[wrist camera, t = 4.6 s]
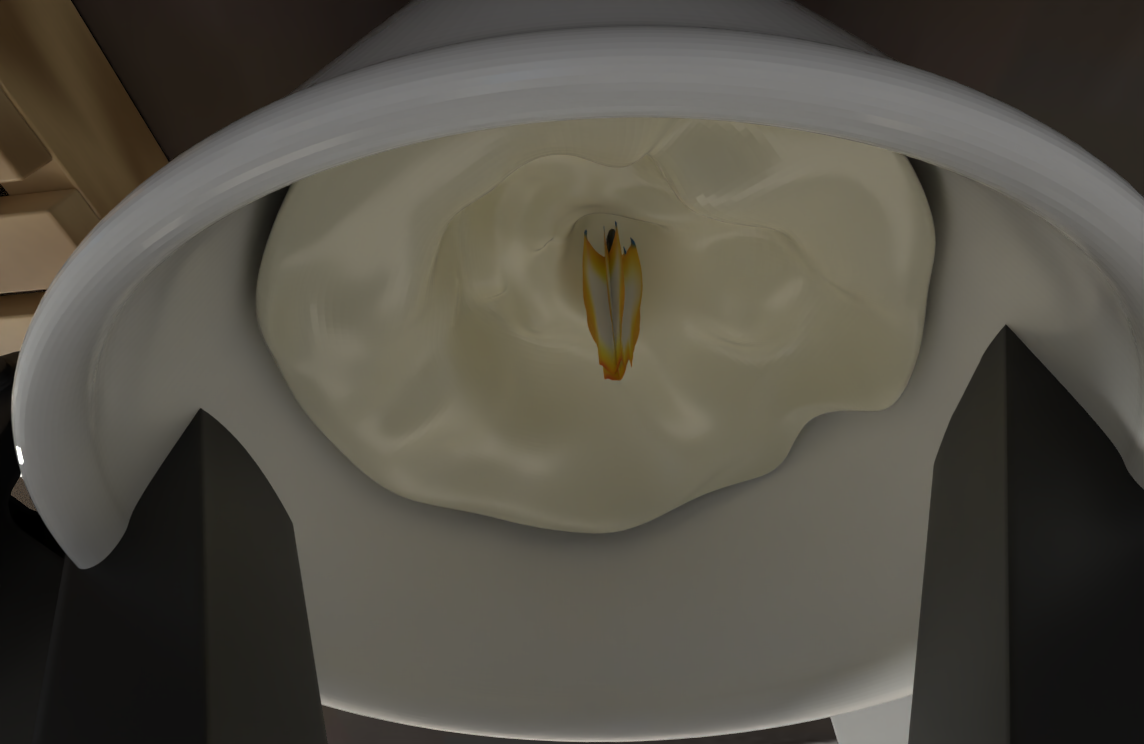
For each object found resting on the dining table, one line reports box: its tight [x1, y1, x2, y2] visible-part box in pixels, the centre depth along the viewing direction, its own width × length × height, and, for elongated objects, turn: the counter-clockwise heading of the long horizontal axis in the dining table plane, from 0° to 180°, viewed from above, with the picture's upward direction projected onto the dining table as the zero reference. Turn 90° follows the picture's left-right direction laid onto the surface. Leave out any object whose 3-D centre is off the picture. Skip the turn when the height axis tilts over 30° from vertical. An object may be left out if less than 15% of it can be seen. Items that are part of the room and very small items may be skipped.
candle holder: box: [11, 0, 1144, 742], centre depth 10 cm, size 10×10×12 cm
